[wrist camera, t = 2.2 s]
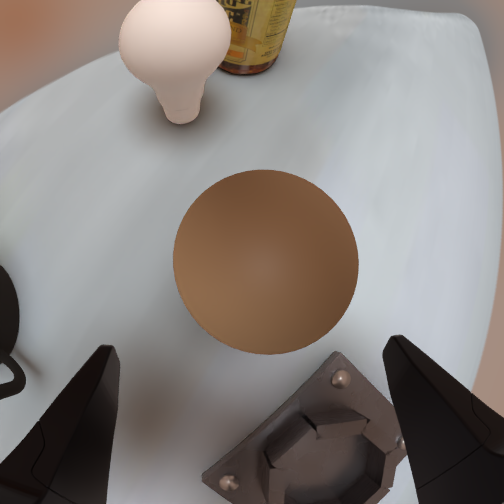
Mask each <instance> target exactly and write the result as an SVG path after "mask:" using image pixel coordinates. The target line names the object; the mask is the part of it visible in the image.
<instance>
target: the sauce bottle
mask: <svg viewBox="0 0 504 504" xmlns="http://www.w3.org/2000/svg"><path fill="white" fill-rule="evenodd" d="M216 1H217V2H218V3H219V4H220V5H221V6H222V7H223V9H224V10H225V12H226V14H227V16H228V19H229V23H230V27H231V41H230V46H229V49H228V51H227V53H226V56H225V58H224V60H223V61H222V62H221V63H220V65H219V66H218V67H220V68H222V69H224V70H227V71H228V72H230V73H233V74H239V75H240V74H252V73H258V72H261V71H264V70H265V69H267V68H268V67H270V66H271V65H272V64H273V62H274V61H276V59H277V57H278V54H279V52H280V50H281V47H282V44H283V41H284V38H285V34H286V31H287V28H288V25H289V22H290V19H291V15H292V12H293V9H294V6H295V3H296V0H216Z"/></svg>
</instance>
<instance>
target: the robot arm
mask: <svg viewBox="0 0 504 504" xmlns="http://www.w3.org/2000/svg"><path fill="white" fill-rule="evenodd" d="M382 356H383V362H384V366H385V371H386V376H387V381H388V386H389V391H390V395H391V399H392V402H393V405H394V409H395V412H396V415H397V419H398V422H399V426H400V429H401V433H402V436H403V440H404V444H405V447H406V451H407V455H408V459H409V463H410V467H411V471H412V475H413V479H414V483H415V488H416V493H417V497H418V502H419V504H504V418H503V417H502V416H501V415H499V414H498V413H496V412H495V411H494V410H492V409H491V408H489V407H488V406H487V405H486V404H485V403H483V402H482V401H481V400H480V399H478V398H477V397H476V396H475V395H474V394H473V393H471V392H470V391H469V390H468V389H467V388H466V387H464V386H463V385H462V384H461V383H460V382H458V381H457V380H456V379H455V378H454V377H453V376H451V375H450V374H449V373H448V372H447V371H445V370H444V369H443V368H442V367H441V366H439V365H438V364H437V363H436V362H435V361H433V360H432V359H431V358H430V357H429V356H427V355H426V354H425V353H424V352H423V351H421V350H420V349H419V348H418V347H417V346H415V345H414V344H413V343H412V342H410V341H409V340H408V339H407V338H406V337H404V336H403V335H394V336H391V337H390V338H389V340H388V342H387V344H386V346H385V348H384V350H383V354H382ZM119 378H120V361H119V358H118V356H117V353H116V350H115V348H114V346H113V345H100V346H99V347H98V348H97V350H96V351H95V352H94V353H93V354H92V355H91V357H90V358H89V359H88V360H87V361H86V363H85V364H84V365H83V366H82V367H81V369H80V370H79V371H78V372H77V373H76V375H75V376H74V377H73V378H72V379H71V381H70V382H69V383H68V384H67V385H66V387H65V388H64V389H63V390H62V392H61V393H60V394H59V395H58V397H57V398H56V399H55V400H54V401H53V403H52V404H51V405H50V406H49V408H48V409H47V410H46V412H45V413H44V414H43V415H42V417H41V418H40V419H39V421H38V422H37V423H36V424H35V425H34V427H33V428H32V429H31V430H30V432H29V433H28V434H27V435H26V437H25V438H24V439H23V440H22V441H21V442H20V443H19V445H18V446H17V447H16V448H15V449H14V450H13V451H12V452H11V453H10V454H9V455H8V456H7V457H6V458H5V459H4V460H3V461H2V462H1V464H0V504H106V501H107V489H108V479H109V469H110V461H111V453H112V445H113V438H114V431H115V424H116V418H117V411H118V395H119Z"/></svg>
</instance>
